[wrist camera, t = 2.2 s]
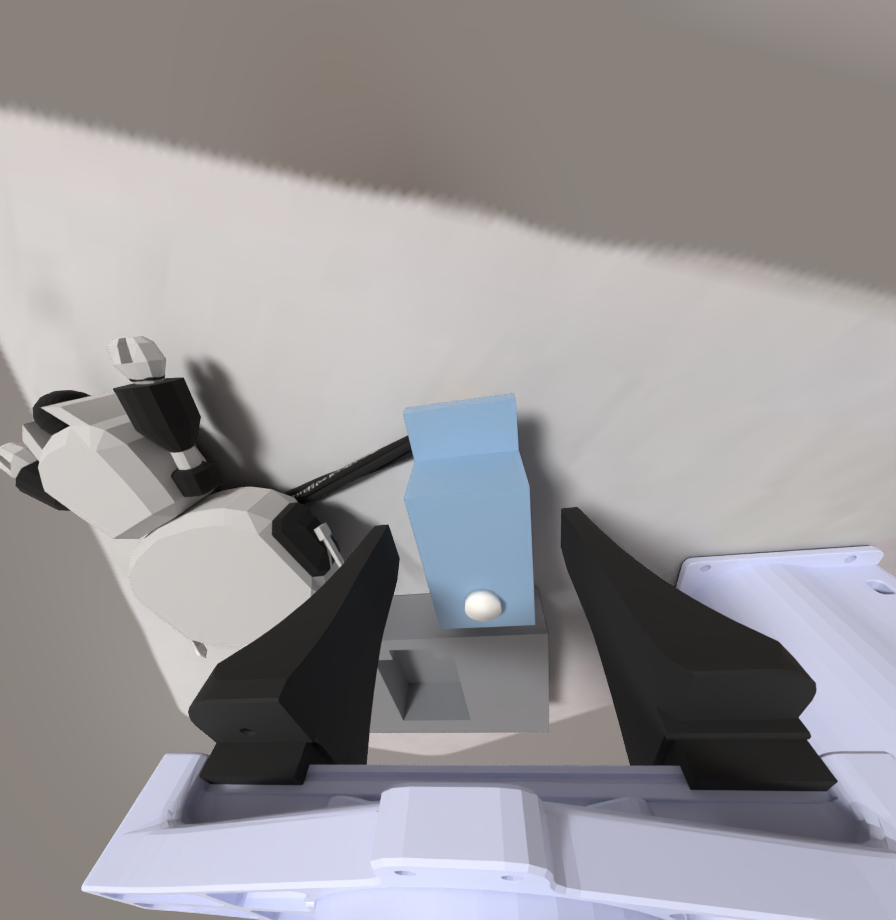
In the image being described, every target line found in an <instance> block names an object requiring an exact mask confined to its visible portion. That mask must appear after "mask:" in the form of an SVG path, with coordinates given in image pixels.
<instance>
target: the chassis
mask: <svg viewBox="0 0 896 920" xmlns="http://www.w3.org/2000/svg"><path fill="white" fill-rule="evenodd" d="M534 608H535V625H523V626H500V627H477V628H454V629H440V626H439V622H438V619H437V615H436V612H435V608H434V605H433V601H432V598H431V594H417V595H400V596H393V599H392V603H391V607H390V610H389V614H388V618H387V622H386V626H385V630H384V634H383V638H382V643H381V649H380V655H379V662H378V668H377V675H376V682H375V689H374V697H373V706H372V714H371V723H370V732H369V733H498V732H549V657H548V630H547V626H546V622H545V617H544V613H543V608H542V604H541V600H540V595H539V591H538V587H534Z"/></svg>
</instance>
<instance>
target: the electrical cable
mask: <svg viewBox="0 0 896 920" xmlns="http://www.w3.org/2000/svg"><path fill="white" fill-rule="evenodd" d="M411 456H413V453H412V449H411V445H410V441H409V436H406V437H404V438H402V439H400V440H398V441H396V442H394V443H391V444H389V445H387V446H385V447H383V448H381V449H378V450H376V451H374V452H373V453H371V454H368V455H367V456H365V457H363V458H360V459H359V460H357V461H355V462H353V463H351V464H349V465H347V466H345V467H344V468H342V469H339V470H337V471H334V472H332V473H329V474H326V475H324V476H321V477H319V478H316V479H314V480H312V481H310V482H308V483H305V484H303V485H301V486H299V487H297V488H294V489H292V490H290V491H288V492H286V493H283V494H286V495H288V496H291V497H294V498H295V499H296V500H297V502H298V503H300V504H305V503H308V502H310V501H312V500H315V499H317V498H319V497H321V496H324V495H326V494H328V493H330V492H332V491H334V490H336V489H338V488H340V487H342V486H344V485H346V484H348V483H350V482H352V481H354V480H356V479H358V478H360V477H363V476H365V475H368V474H371V473H373V472H376V471H378V470H381V469H384V468H386V467H389V466H391V465H393V464H395V463H398V462H400V461H402V460H404V459H407V458H409V457H411Z"/></svg>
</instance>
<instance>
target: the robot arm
mask: <svg viewBox="0 0 896 920" xmlns="http://www.w3.org/2000/svg"><path fill="white" fill-rule="evenodd" d="M561 549H562V553H563V556H564V560H565V563H566V567H567V570H568V573H569V575H570V578H571V580H572V583H573V585H574V588H575V590H576V592H577V595H578V597H579V600H580V602H581V604H582V607H583V609H584V612H585V614H586V617H587V619H588V621H589V624H590V627H591V630H592V632H593V635H594V638H595V642H596V645H597V648H598V651H599V655H600V658H601V661H602V665H603V668H604V671H605V675H606V678H607V682H608V685H609V689H610V692H611V696H612V699H613V703H614V707H615V710H616V714H617V717H618V721H619V725H620V728H621V732H622V736H623V740H624V744H625V748H626V752H627V755H628V759H629V763H630V766H587V765H585V766H583V765H582V766H580V765H578V766H577V765H561V766H560V765H558V766H557V765H552V766H551V765H367V754H368V743H369V732H370V723H371V714H372V706H373V697H374V689H375V682H376V675H377V668H378V662H379V655H380V649H381V643H382V638H383V634H384V630H385V626H386V622H387V618H388V614H389V610H390V607H391V603H392V599H393V595H394V591H395V587H396V583H397V576H398V569H399V560H400V558H399V555H398V552H397V549H396V546H395V543H394V540H393V537H392V534H391V531H390V528H389V525H379V526H374V528H373V529H372V530H371V531H370V532H369V533H368V535H367V536H366V537H365V538H364V540H363V541H362V542H361V543H360V544H359V546H358V547H357V548H356V549H355V550H354V552H353V553H352V554H351V555H350V556H349V558H348V559H347V560H346V561H345V562H344V563H343V564H342V566H341V567H340V568H339V569H338V570H337V571H336V572H335V573H334V574H333V575H332V576H331V577H330V578H329V580H328V581H327V582H326V583H325V584H324V585H323V586H322V587H320V588H319V589H318V590H317V591H316V592H315V593H314V594H313V595H312V596H311V597H310V598H309V599H308V600H306V601H305V602H304V603H303V604H302V605H301V606H299V607H298V608H297V609H296V610H294V611H293V612H292V613H291V614H290V615H288V616H287V617H286V618H285V619H283V620H282V621H281V622H280V623H278V624H277V625H276V626H274V627H273V628H272V629H270V630H269V631H267V632H266V633H265V634H263V635H262V636H260V637H259V638H257V639H256V640H255V641H253V642H252V643H250V644H249V645H247V646H245V647H244V648H242V649H241V650H239V651H238V652H236V653H234V654H233V655H231V656H230V657H228V658H227V659H225V660H223V661H222V662H220V663H218V664H217V666H216V667H215V668H214V670H213V672H212V673H211V675H210V676H209V678H208V679H207V681H206V682H205V684H204V685H203V687H202V689H201V690H200V692H199V693H198V695H197V696H196V698H195V699H194V701H193V702H192V704H191V706H190V707H189V711H188V713H189V717H190V719H191V721H192V722H193V723H194V724H195V725H196V726H197V727H198V728H199V729H200V730H202V731H203V732H204V733H205V734H207V735H208V736H209V737H210V738H211V739H213V740H214V741H215V742H216V745H215V747H214V749H213V751H212V753H211V755H208V754H204V753H197V752H194V753H193V752H173V753H172V752H169V753H167V754H165V755H164V757H163V759H162V760H161V762H160V763H159V765H158V766H157V768H156V770H155V771H154V773H153V774H152V776H151V778H150V779H149V781H148V782H147V784H146V786H145V787H144V789H143V790H142V792H141V793H140V795H139V796H138V798H137V800H136V801H135V803H134V804H133V806H132V808H131V809H130V811H129V812H128V814H127V816H126V817H125V818H124V820H123V822H122V823H121V825H120V826H119V828H118V830H117V831H116V833H115V834H114V836H113V837H112V839H111V841H110V842H109V844H108V845H107V847H106V849H105V850H104V852H103V853H102V855H101V856H100V858H99V860H98V861H97V863H96V864H95V866H94V867H93V869H92V871H91V872H90V874H89V875H88V877H87V878H86V880H85V882H84V883H83V885H82V891H84V892H87V893H91V894H95V895H98V896H102V897H106V898H109V899H113V900H116V901H120V902H124V903H127V904H131V905H134V906H138V907H141V908H145V909H154V910H167V911H168V910H169V911H181V912H192V913H202V914H213V915H223V916H232V917H241V918H250V919H259V920H896V578H895V577H894V576H892V575H891V574H889V573H888V572H887V571H885V570H884V569H882V568H881V567H879V566H878V563H879V562H880V560H881V559H882V557H883V555H884V553H883V551H881V550H879V549H878V548H876V547H874V546H859V547H844V548H830V549H815V550H800V551H785V552H770V553H755V554H740V555H725V556H710V557H696V558H689V559H687V560H685V561H684V562H683V564H682V567H681V571H680V574H679V578H678V582H677V585H676V588H675V587H674V586H672V585H671V584H669V583H667V582H666V581H664V580H663V579H661V578H660V577H658V576H657V575H656V574H654V573H653V572H651V571H650V570H648V569H647V568H646V567H644V566H643V565H642V564H640V563H639V562H638V561H636V560H635V559H634V558H633V557H631V556H630V555H629V554H628V553H626V552H625V551H624V550H623V549H622V548H620V547H619V546H618V545H617V544H616V543H615V542H614V541H612V540H611V539H610V538H609V537H608V536H607V535H606V534H605V533H604V532H603V531H601V530H600V529H599V528H598V527H597V526H596V525H595V524H594V523H593V522H592V521H591V520H590V519H589V518H588V517H587V516H586V515H585V514H584V513H583V512H582V511H581V510H580V509H579V508H578V507H573V508H562V509H561Z"/></svg>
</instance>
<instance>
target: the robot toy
mask: <svg viewBox="0 0 896 920" xmlns="http://www.w3.org/2000/svg"><path fill="white" fill-rule="evenodd" d="M107 348H108V351H109V355H110V359H111V363H112V365H113V366H114V367H115V368H116V369H117V370H119V371H120V372H121V373H122V374H123V375H124V376H125V377H127V378H128V379H129V380H130V381H131V382H133V383H134V384H129V385H125V386H121V387H117V388H114V389H113V390H114V392H115V393H102V394H98V395H93V396H90V395H88V394H86V393H83V392H78V391H73V390H64V391H54V392H51V393H49V394H46V395H44V396H42V397H41V398H40V399H39V400H38V401H37V403H36V404H35V405H34V407H33V418H34V420H35V421H34V422H31V423H26V424H23V442H24V443H25V444H22V443H19V442H13V443H12V442H10V443H7V444H4V445H3V446H1V447H0V455H1V456H0V468H1V469H2V470H4V471H5V472H6V473H8V474H9V475H10V476H12V477H13V478H16V487H17V488H18V489H19V490H20V491H21V492H23V493H25V494H27V495H29V496H31V497H33V498H35V499H37V500H39V501H41V502H43V503H45V504H47V505H49V506H51V507H53V508H55V509H57V510H65V511H66V510H67V511H72V512H74V513H75V514H76V515H78V516H79V517H81V518H82V519H84V520H85V521H87V522H88V523H90V524H91V525H92V526H94V527H95V528H97V529H99V530H100V531H102V532H103V533H105V534H107V535H108V536H110V537H111V538H113V539H139V538H141V537H142V536H144V535H146V534H148V533H149V532H150V533H149V534H148V535H147V536H146V537H145V538H144V539H143V540H142V541H141V542H140V543H139V544H138V546H137V547H136V549H135V551H134V552H133V554H132V556H131V559H130V562H129V580H130V584H131V587H132V591H133V595H134V597H135V598H136V599H137V600H138V601H140V602H141V603H142V604H143V605H145V606H146V607H147V608H149V609H150V610H151V611H152V612H154V613H155V614H156V615H157V616H159V617H160V618H161V619H163V620H164V621H165V622H166V623H168V624H169V625H170V626H172V627H173V628H174V629H175V630H177V631H178V632H179V633H180V634H182V635H183V636H184V637H186V638H187V639H189V640H190V642H191V643H192V645H193V646H194V651H195V653H196V654H197V656H199V657H203V658H206V654H207V649H206V647H205V646H204V644H203V643H205V644H209V645H213V646H231V645H243V644H248V643H252V642H253V641H255V640H256V639H257V638H259V637H260V636H262V635H263V634H265V633H266V632H267V631H269V630H270V629H272V628H273V627H274V626H276V625H277V624H278V623H280V622H281V621H282V620H283V619H285V618H286V617H287V616H288V615H290V614H291V613H292V612H293V611H294V610H296V609H297V608H298V607H299V606H301V605H302V604H303V603H304V602H305V601H306V600H308V599H309V598H310V597H311V596H312V595H313V594H314V593H315V592H316V591H317V590H318V589H319V588H320V587H322V586H323V585H324V584H325V583H326V582H327V581H328V580H329V578H330V577H331V576H332V575H333V574H334V573H335V572H336V571H337V570H338V569H339V568H340V567H341V566H342V564H343V563H344V560H343V558H342V556H341V555H340V549H339V547H338V544H337V542H336V540H335V539H334V538H333V537H332V535H331V534H332V532H331V530H330V529H329V527H328V525H327V523H324V524H321V523H320V522H319V520H318V519H317V518H316V517H315V516H314V515H313V514H312V513H311V512H310V510H309V509H308V508H307V507H306V506H305V505H303V504H300V503H298V502H297V500H296V499H295V498H294V497H291V496H288V495H286V494H283V493H280V492H278V491H275V490H272V489H265V488H258V487H240V488H234V489H229V490H224V491H221V492H218V493H215V494H212V495H209V496H207V495H208V494H210V493H211V492H212V491H214V489H215V488H217V487H218V486H219V485H220V484H221V483H222V480H221V478H220V476H219V474H218V471H217V469H216V467H215V465H214V463H210V462H207V461H206V460H205V458H204V457H203V456H202V454H201V453H200V452H199V450H198V449H197V447H196V446H195V445H196V444H195V441H196V438H197V434H198V429H199V424H200V419H201V416H200V414H199V411H198V409H197V407H196V405H195V402H194V400H193V398H192V396H191V393H190V391H189V389H188V386H187V384H186V382H185V380H184V378H166V379H164V378H165V366H166V358H165V357H164V355H163V354H162V352H161V351H160V350H159V348H158V347H157V345H156V344H155V343H154V342H153V341H151V340H149V339H147V338H145V337H131V338H121V339H112V341H111V342H110V343H109V345H108V346H107ZM205 496H206V497H205Z"/></svg>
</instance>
